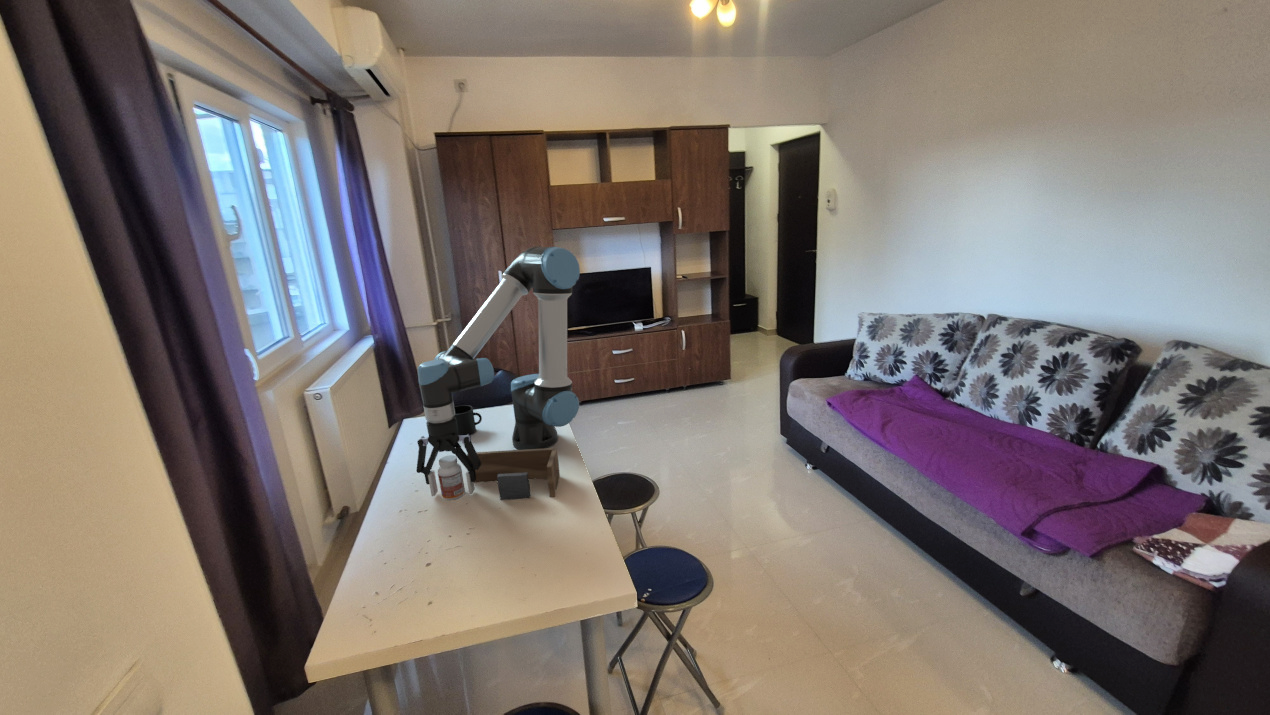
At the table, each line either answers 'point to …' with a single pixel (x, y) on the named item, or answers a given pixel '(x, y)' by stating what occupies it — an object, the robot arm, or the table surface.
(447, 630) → the table surface
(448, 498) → the pill bottle
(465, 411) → the mug
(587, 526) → the table surface
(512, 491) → the dark rectangular block
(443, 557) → the table surface
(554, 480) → the wooden corner wall
